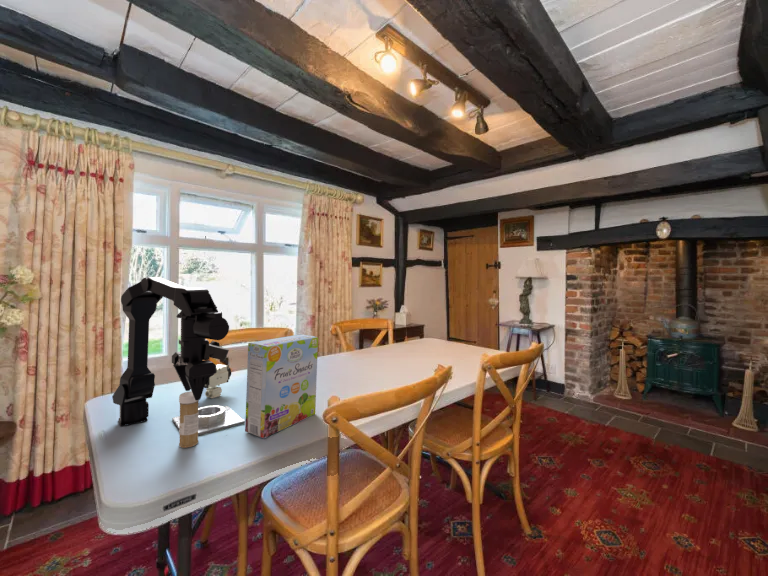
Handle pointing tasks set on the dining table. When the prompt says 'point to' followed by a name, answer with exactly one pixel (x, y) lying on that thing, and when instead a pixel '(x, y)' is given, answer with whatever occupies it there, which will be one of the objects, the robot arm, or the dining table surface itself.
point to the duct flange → (214, 419)
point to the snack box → (280, 383)
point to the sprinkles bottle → (188, 420)
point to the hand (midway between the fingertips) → (192, 395)
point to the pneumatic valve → (217, 381)
